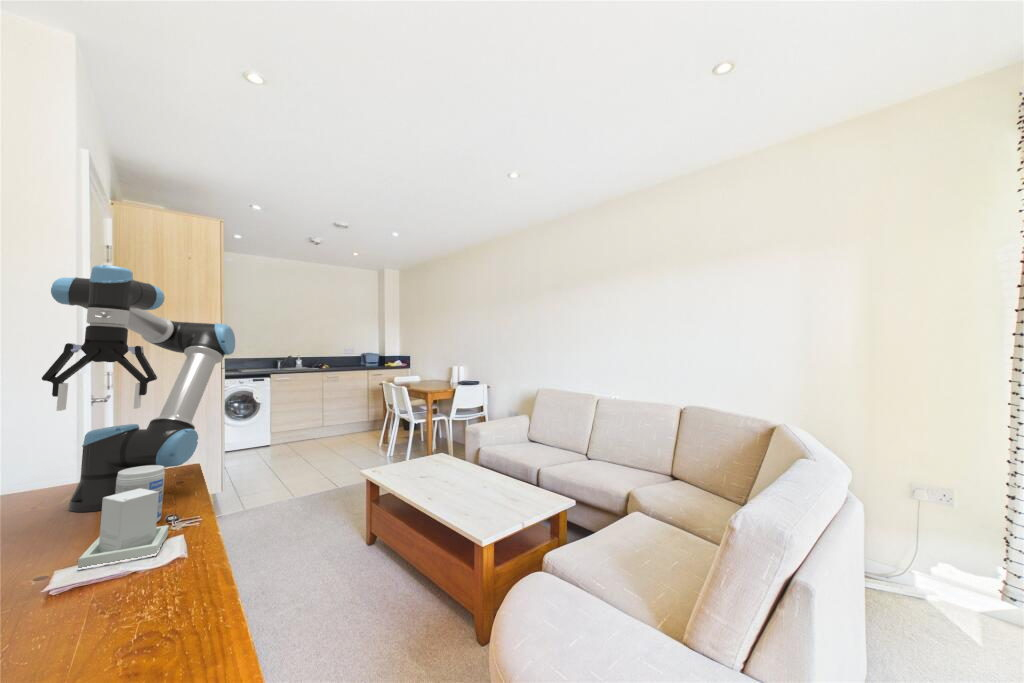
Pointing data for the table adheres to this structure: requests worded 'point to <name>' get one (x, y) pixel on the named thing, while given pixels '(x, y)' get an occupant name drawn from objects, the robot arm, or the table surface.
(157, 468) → the supplement tub
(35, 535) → the table surface
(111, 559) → the holder tray
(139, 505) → the supplement box
